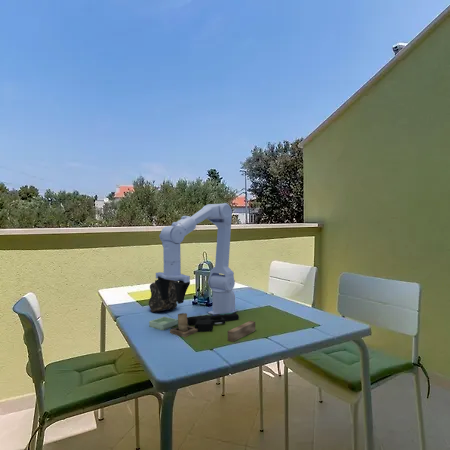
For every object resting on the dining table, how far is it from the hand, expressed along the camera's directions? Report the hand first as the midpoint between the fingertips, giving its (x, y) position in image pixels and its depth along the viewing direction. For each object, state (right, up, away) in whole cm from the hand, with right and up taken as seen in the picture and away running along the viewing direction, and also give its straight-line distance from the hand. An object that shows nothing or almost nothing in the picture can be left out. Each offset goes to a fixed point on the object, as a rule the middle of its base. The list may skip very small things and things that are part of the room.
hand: (172, 301), depth 107 cm
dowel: (+4, -10, -3) cm, 11 cm away
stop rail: (+23, -10, -6) cm, 26 cm away
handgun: (+15, -10, +5) cm, 19 cm away
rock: (-8, -10, +26) cm, 29 cm away
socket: (+4, -10, -3) cm, 11 cm away
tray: (-4, -10, +4) cm, 11 cm away
